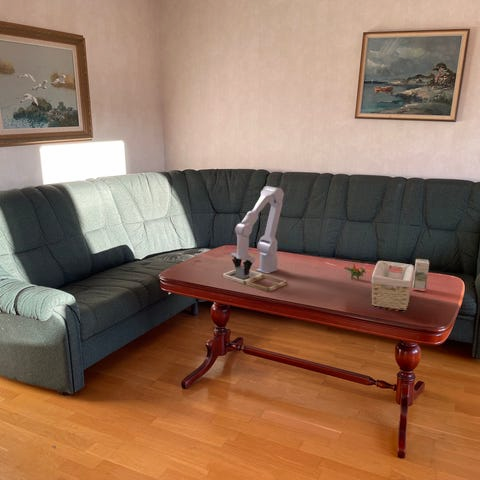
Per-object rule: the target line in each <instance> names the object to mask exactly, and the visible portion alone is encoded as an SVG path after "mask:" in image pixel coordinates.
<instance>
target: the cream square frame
mask: <svg viewBox="0 0 480 480" xmlns="http://www.w3.org/2000/svg"><path fill="white" fill-rule="evenodd" d="M235 271H236V269H234V270H230V271H227V272H224V273H221V278H224V279H227V280H230V281H233V282H237V283H239V284H243V285H245V281H247V280H249V279H252V278H255V277H257V276H260V275H262V274H263V273H261V272H259V271H254V270H250V272H249V275H253V276H251V277H248V278H245V279H240V278H237V277H234V276H231V275H234V274H235Z"/></svg>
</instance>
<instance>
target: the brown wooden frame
mask: <svg viewBox="0 0 480 480" xmlns="http://www.w3.org/2000/svg"><path fill="white" fill-rule="evenodd" d="M261 274H262V275H260V276H257V277H255V278H252V279H249V278H248V279H249V280H247V281H245V284H244V285H246V286H248V287H252V288H255V289H259V290H261V291H265V292H268V293H269V292H271V291H274V290H276V289H279V288H281V287H284V286H286V285H287V284H288V280H285V279H281V278H278V277H275V276H271V275H269V274H266V273H265V274H263V273H261ZM261 279H267V280H270V281H274V282H277V284H274V285H272V286H270V287H266V286H263V285H260V284H258V283H257V284H256V283H254V282H255V281H259V280H261Z"/></svg>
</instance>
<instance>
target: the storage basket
mask: <svg viewBox="0 0 480 480" xmlns="http://www.w3.org/2000/svg"><path fill="white" fill-rule="evenodd" d="M390 269H397V270H401V273H400V272H393V271H390ZM414 270H415V265H413V264H407V263H403V262H402V263H401V262H395V261H394V262H393V261H385V260H378V261H377V262H376V265H375V267H374V269H373V272H372V275H371V306H372V305H374V306H383V307H390V308H397V309H404V310H406V311H407V309H408V307H409V306H408V305H409V304H408V303H409V302H410V296H411V295H410V294H411V286H412V285H413V278H414ZM374 306H373V307H374ZM407 306H408V307H407ZM406 308H407V309H406Z"/></svg>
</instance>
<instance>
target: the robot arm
mask: <svg viewBox="0 0 480 480" xmlns="http://www.w3.org/2000/svg"><path fill="white" fill-rule="evenodd" d="M284 196H285V193H284V191H283V189H282V188H280V187H276V186H275V187H274V186H269V185H266V186H264V187H263V189H262V190H261V191H260V197H259V198H258V200H257V202H256V203H255V205H254V207H253V209H252V210H249V211H248V212H247V213H246V215H245V216H244V218H242V221H241V222H239V223H238V224H236V226H235V228H234V232H235V234H236V238H237V240H236V241H237V242H236V244H237V245H236V252H231V253H230V258H232V259H231V261H232V263H233V264H234V268H235V269H236V267H239V266H242V264H243V266H244V269H245V275H248V274H249V275H250V273H249V270H250V269H251V267H252V265H253V264H254V263H256V258H255V257H252V256H251V255H250V254H249V251H250V250H249V249H250V247H249V246H250V245H249V244H250V235H251V234H252V231H253V228H254V225H255V223H256V222H257V220H258V219H259V214H260V212H261V211H263V209H264V208H265V206H266V205H267V203H269V204H270V210H269V214H268V218H267V222H266V227H265V231H264V235H262V236H261V237H260V238H259V241H258V242H257V246H256V248H257V251H258V253H259V254H260V255H259V268H256V269H255V270H256V272H260V273H261V272H262V273H265V274H271V273H273V272H275V271H278V270H279V268H278V259H279V257H278V256H277V254H276V253H277V251H278V244H279V243H278V240H277V238H276V234H277V233H276V232H277V230H278V224H279V220H280V216H281V212H282V207H283V199H284ZM242 260H243V261H242Z"/></svg>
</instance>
